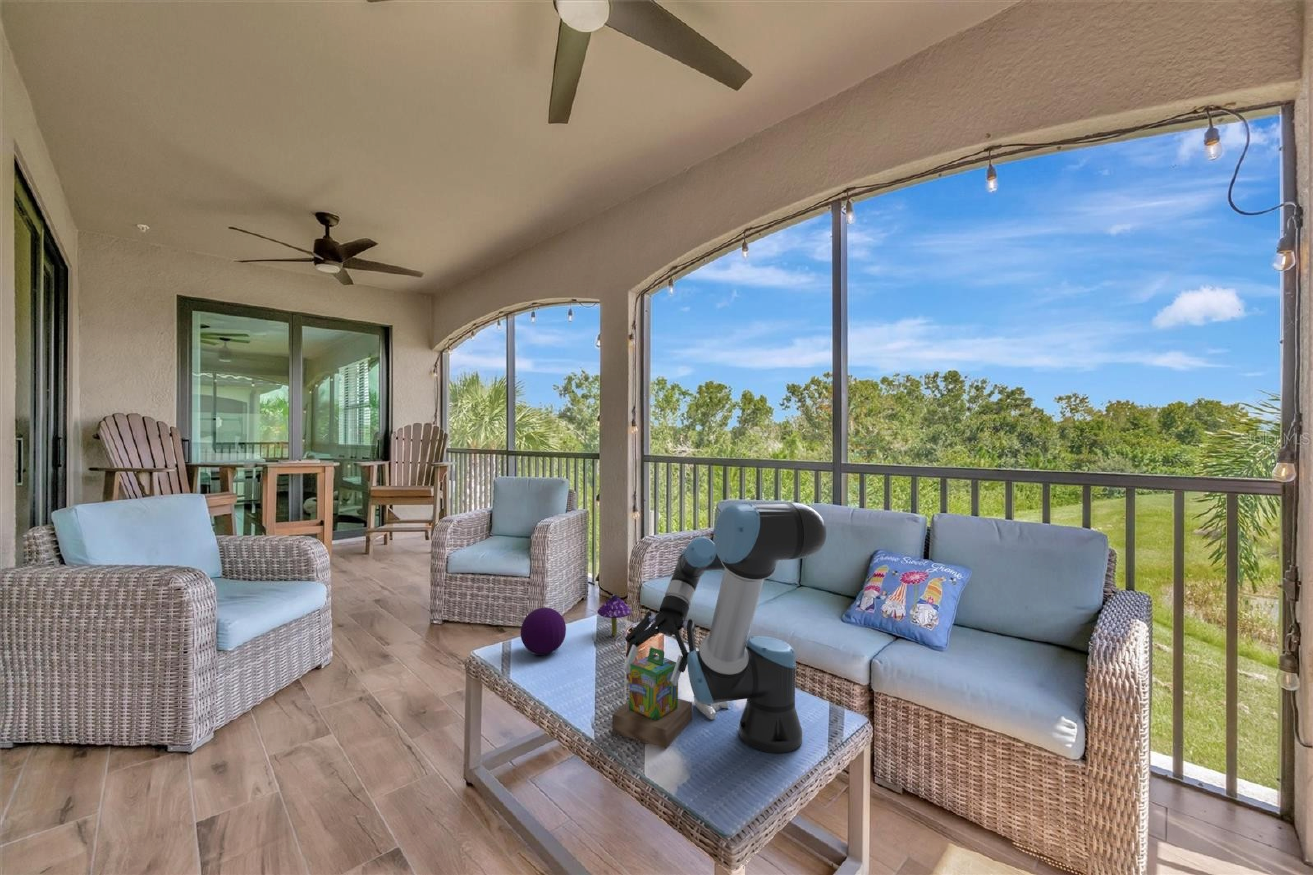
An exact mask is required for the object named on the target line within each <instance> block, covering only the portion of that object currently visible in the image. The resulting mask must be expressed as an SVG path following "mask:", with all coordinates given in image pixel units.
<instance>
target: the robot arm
mask: <svg viewBox="0 0 1313 875" xmlns="http://www.w3.org/2000/svg"><path fill="white" fill-rule="evenodd" d="M825 524H826V523H825V521H824V519H823V517H822V516H821V515H820V514H819V513H818V511H816V510H815V509H813V508H812V507H811V506H809V505H807V504H803V503H799V502H774V503H773V502H772V503H770V502H769V503H750V502H742V503H739V504H730V505H729V506H725V507H724V509H722V511H721V512H720V513H719V515H718V518H717V520H716V522H715V527H714V532H713V534H714V539H713V540H711V539H710V538H707V537H705V536H697V537H696V538H693V539H692V540H691V541H690V543H688V545H687V546H686V547H685V548H684V549H683V550H682V551H681V553H680V555H679V557H678V558H677V562H676V564H675V567H674V570H673V574H672V576H671V578H670V580H669V583H668V585H667V588H666V590H665V593H664V597H663V599H662V601H661V603H660V607H659V611H658V612H657V614H655V613H652V612H651V611H650V610H649V611H647V612H646V614H645V615H644V618H642V619H641V621H639V623H638V624H637V625H636V626H635V627H634V628H633V629H632V630H631V631H630V632H629V633H628V634H627V635H626V637H624V640H625V641H626V643H627V644H628V645H629V646H628V648H627V651H626V653H625V657H626V660H625V662H624V665H623V668H622V669H623V671H624V672H625V673H626V674H628V675H630V664H632V663H634V662H636V658H637V655H638V653H639V648H638V647H640V646H641V645H643V644H644V643H645V642H647V641H648V640H650V639H651V638H652V637H654V636H655V635H658V634H662V635H668V636H671V637H672V636H673V635H674V637H675V640H676V642H677V644H678V648H679V650H680V653H681V655H680V654H679V655H678V657H677V659H676V661H675V662H676V665H675V668H674V671H673V674H672V677H671V680H670V681H671V683H672V684H673V685H674V686H677V683H678V684H679V681H680V680H679V679H680V677H681V673H685V672H686V669H687V673H688V679H689V680H688V681H689V684H690V687H691V691H692V694H693V697H694V696H695V698H696V700H697V701H698V702H700V703H702V704H706V703H712V704H714V703H719V702H726V701H729V702H732V701H733V702H734V701H740V700H746V704H745V706H744V708H743V711H742V715H741V717H740V720H739V725H738V726H739V730H738V732H739V736H740V739H741V740H742V741H743V742H744V743H745V744H746V745H748V746H749V747H751V748H752V749H755V750H757V751H761V752H764V753H770V754H784V753H789V752H792V751H795V750H797V749H798V748H799V747H800V746H801V744H802V742H803V730H802V729H803V728H802V726H801V722H800V718H799V716H798V712H797V709H796V668H797V663H796V652H795V650H794V648H793V647H792V646H791V645H790V644H789V643H787V642H785V641H784V640H780V639H777V638H774V637H771V636H766V635H752V636H750V637H749V635H750V632H751V629H752V624H753V622H754V618H755V614H756V610H757V606H758V603H759V600H760V596H761V592H762V588H763V584H764V582H765V580H766V579H770V577H771V576H772V575H773V574H774V572H775V570H776V568H777V567H776V566H777V563H778V562H779V561H787V560H800V559H805V558H809V557H811V556H813V555H816V554H817V553H818V552H819V551H820V550H821V549H822V548H823V546H824V545H825V542H826V540H827V527H826V525H825ZM720 570H721V571H723V574H722V579H721V582H720V587H719V592H718V596H717V599H716V604H715V608H714V613H713V617H712V621H711V626H710V629H709V635H706V636H705V637H704V638H703V639H702V640H701V642H700V644H699V649H698V650H697V648H696V641H695V640H696V638H695V627H696V624H695V623H694V621H693V619H688V620H686V618H687V616H688V613H689V611H690V606H691V605H692V602H693V599H694V597H695V596H694V595H695V594H696V589H697V587H698V584H699V581H700V579H701V577H702V575H704V573H705V572H706V571H707V572H708V571H720ZM683 628H685V630H686V636H687V643H688V650H687V647H686V645H685V642H684V640H683V636H682V633H681V629H683Z"/></svg>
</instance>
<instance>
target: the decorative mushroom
mask: <svg viewBox="0 0 1313 875" xmlns="http://www.w3.org/2000/svg"><path fill="white" fill-rule="evenodd" d="M631 613H632V609H631V608H630V606H628V605H627V603H626V602H624V600H622V599H621V598H620V597H619V596H618V595H617V594H612V595H611V596H610V598H608V599H607V600H606V601H604V602H603V604H602V605H601V606H600V607H599V608H598V610H597V614H598V616H600V617H603V618H609V619H611V635H612V636H613V637H614V636H616V635H617V634H618V624H617V623H618V620H617V619H620V618H625V617H627V616H629V615H631Z"/></svg>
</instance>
